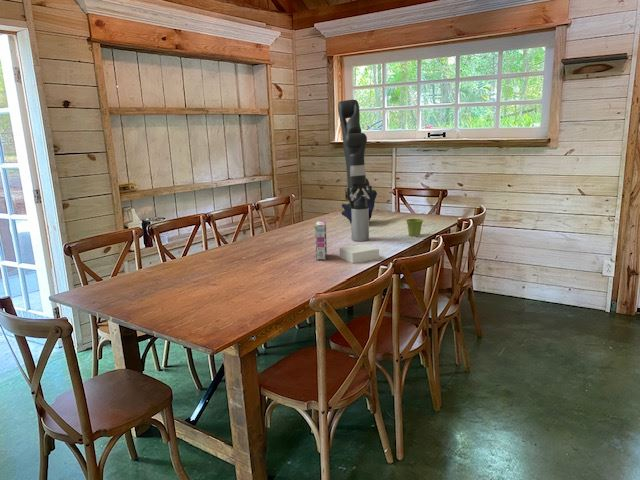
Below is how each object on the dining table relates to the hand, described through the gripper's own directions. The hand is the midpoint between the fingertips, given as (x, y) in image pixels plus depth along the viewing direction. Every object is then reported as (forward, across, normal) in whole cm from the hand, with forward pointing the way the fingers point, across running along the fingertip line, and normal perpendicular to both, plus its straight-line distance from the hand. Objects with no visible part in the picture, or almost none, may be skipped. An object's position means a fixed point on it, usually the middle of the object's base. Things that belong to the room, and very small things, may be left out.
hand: (359, 207), depth 234 cm
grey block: (+22, +11, +15) cm, 29 cm away
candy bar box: (+21, +25, +4) cm, 33 cm away
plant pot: (+20, -40, -9) cm, 45 cm away
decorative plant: (+17, -34, -60) cm, 71 cm away
